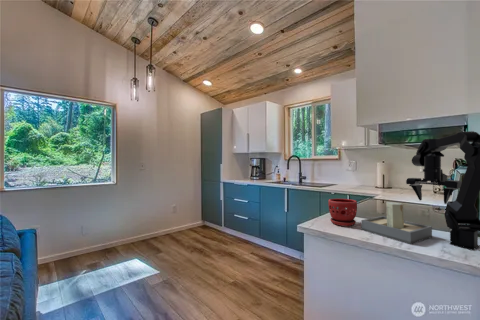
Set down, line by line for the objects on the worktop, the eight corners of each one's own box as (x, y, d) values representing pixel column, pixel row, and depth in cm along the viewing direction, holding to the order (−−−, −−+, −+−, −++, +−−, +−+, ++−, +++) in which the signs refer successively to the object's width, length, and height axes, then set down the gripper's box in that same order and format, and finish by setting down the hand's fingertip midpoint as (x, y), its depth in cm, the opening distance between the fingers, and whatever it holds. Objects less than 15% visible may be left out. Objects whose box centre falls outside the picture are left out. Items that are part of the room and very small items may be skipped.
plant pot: (363, 225, 111) (362, 200, 111) (344, 229, 105) (344, 203, 105) (340, 218, 123) (340, 196, 123) (322, 222, 117) (322, 199, 117)
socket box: (432, 237, 93) (432, 226, 93) (410, 244, 86) (410, 232, 86) (382, 224, 111) (382, 215, 111) (361, 229, 104) (361, 220, 104)
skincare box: (404, 233, 95) (404, 204, 95) (392, 233, 96) (392, 204, 96) (397, 229, 101) (396, 201, 101) (386, 228, 102) (386, 201, 102)
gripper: (468, 167, 96) (468, 203, 97) (417, 166, 113) (418, 197, 113) (456, 167, 91) (456, 206, 92) (405, 166, 108) (405, 199, 108)
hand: (432, 202), depth 101 cm, fingers open, 9 cm apart
